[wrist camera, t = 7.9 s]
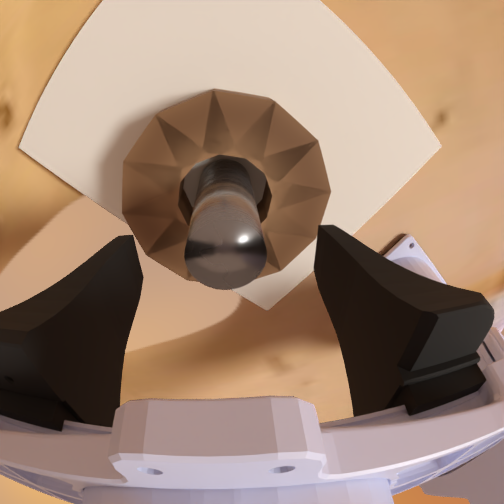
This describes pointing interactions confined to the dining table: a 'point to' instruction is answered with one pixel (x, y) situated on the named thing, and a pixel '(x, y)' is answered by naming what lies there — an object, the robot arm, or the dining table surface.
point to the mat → (233, 79)
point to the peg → (225, 229)
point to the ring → (231, 144)
